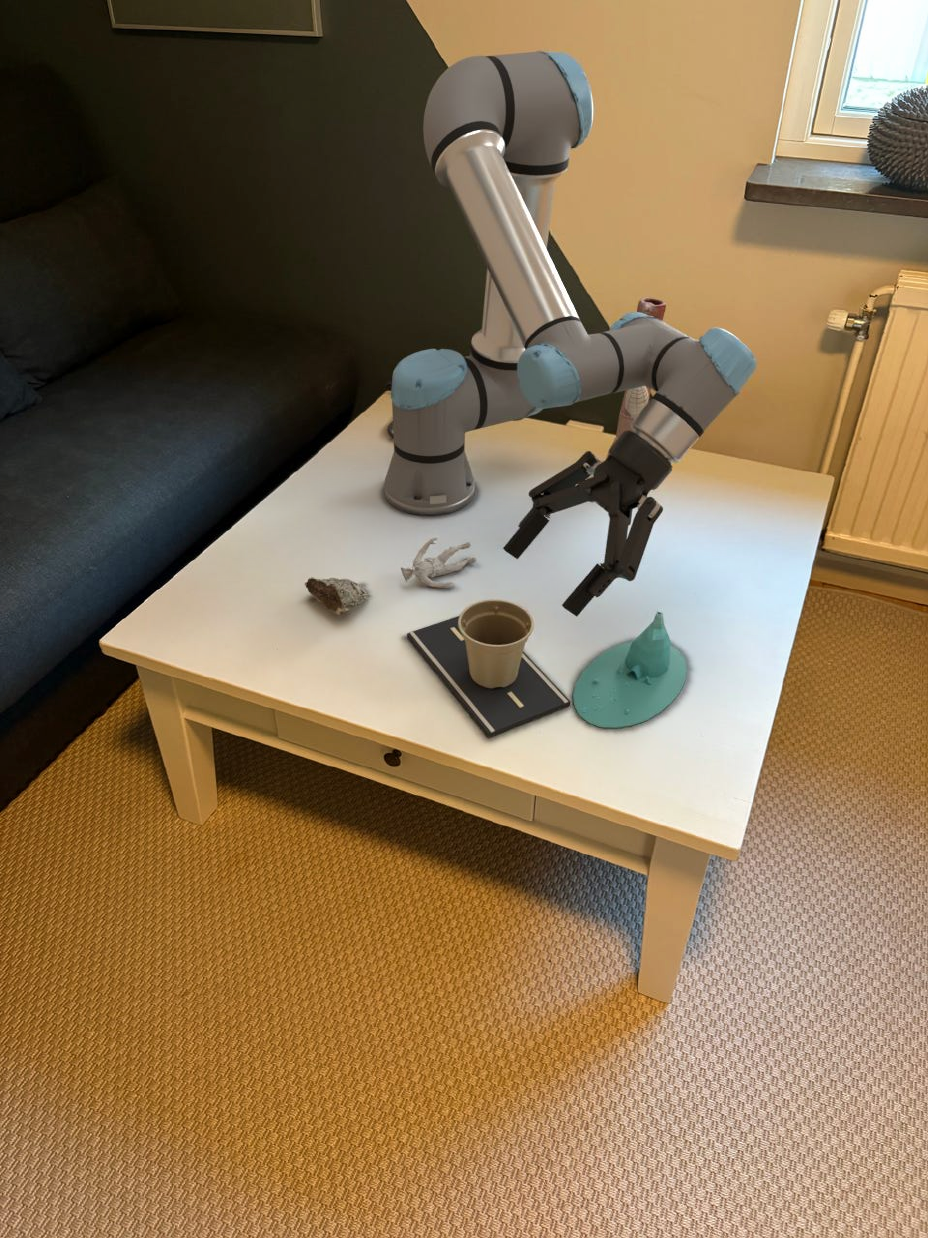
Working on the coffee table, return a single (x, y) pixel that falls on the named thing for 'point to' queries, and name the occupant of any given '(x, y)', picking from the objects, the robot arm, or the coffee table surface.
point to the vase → (640, 396)
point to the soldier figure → (435, 565)
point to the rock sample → (337, 593)
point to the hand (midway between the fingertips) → (538, 581)
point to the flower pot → (495, 640)
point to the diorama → (631, 680)
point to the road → (486, 705)
